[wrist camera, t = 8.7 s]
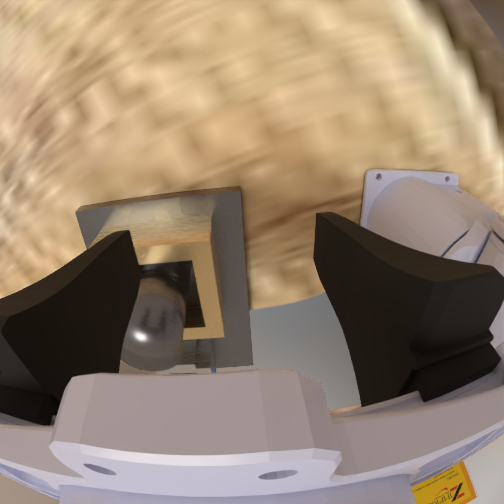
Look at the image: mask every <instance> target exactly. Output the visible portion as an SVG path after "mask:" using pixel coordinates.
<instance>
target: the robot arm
mask: <svg viewBox="0 0 504 504" xmlns="http://www.w3.org/2000/svg"><path fill="white" fill-rule="evenodd" d="M377 174H380V176H379V178H377V179H376V175H377ZM446 177H447V179H446V180H445V178H446ZM458 181H459V176H458V175H457V174H456V173H451V172H438V171H421V170H397V169H369V170H368V171H367V172H366V174H365V182H364V192H363V202H362V211H361V219H360V225H358V224H356V223H354V222H352V221H351V220H349V219H347V218H345V217H342V216H340V215H338V214H336V213H332V212H326V213H316V227H315V243H314V257H313V259H314V262H315V266H316V269H317V272H318V275H319V278H320V281H321V283H322V285H323V287H324V289H325V291H326V293H327V296H328V298H329V300H330V302H331V304H332V306H333V308H334V310H335V313H336V315H337V317H338V319H339V322H340V324H341V327H342V329H343V332H344V335H345V339H346V342H347V345H348V349H349V352H350V356H351V360H352V363H353V367H354V371H355V376H356V380H357V385H358V390H359V394H360V400H361V406H362V407H361V408H357V409H353V410H349V411H344V412H340V413H335V414H330V412H329V408H328V405H327V401H326V397H325V394H324V390H323V387H322V383H321V382H319V381H316V380H314V379H312V378H310V377H307V376H305V375H302V374H300V373H298V372H295V371H292V370H264V369H255V370H245V371H231V372H216V373H196V374H119V366H120V359H121V352H122V346H123V342H124V338H125V334H126V331H127V328H128V325H129V321H130V318H131V315H132V312H133V309H134V305H135V302H136V299H137V296H138V292H139V286H140V280H141V274H142V273H141V269H140V266H139V263H138V259H137V256H136V252H135V249H134V245H133V241H132V237H131V234H130V230H123V231H115V232H113V233H111V234H109V235H108V236H106V237H104V238H103V239H101V240H100V241H98V242H97V243H96V244H94V245H93V246H91V247H90V248H89V249H87V250H86V251H84V252H83V253H82V254H80V255H79V256H77V257H76V258H74V259H73V260H71V261H70V262H69V263H67V264H66V265H64V266H63V267H61V268H60V269H58V270H57V271H55V272H53V273H52V274H50V275H48V276H47V277H45V278H43V279H42V280H40V281H38V282H36V283H34V284H32V285H30V286H28V287H26V288H24V289H22V290H20V291H18V292H16V293H13V294H11V295H9V296H6V297H4V298H1V299H0V473H1V474H3V475H4V476H6V477H8V478H10V479H12V480H15V481H17V482H19V483H21V484H23V485H25V486H27V487H29V488H32V489H34V490H36V491H38V492H41V493H43V494H45V495H48V496H51V497H53V498H56V499H58V500H60V501H59V504H417V503H416V500H415V497H414V493H413V490H412V487H413V486H415V485H417V484H420V483H422V482H424V481H426V480H428V479H430V478H432V477H434V476H436V475H438V474H440V473H442V472H444V471H445V470H447V469H449V468H451V467H453V466H454V465H456V464H458V463H460V462H461V461H463V460H465V459H466V458H468V457H469V456H471V455H473V454H474V453H476V452H477V451H479V450H480V449H482V448H484V447H485V446H487V445H488V444H490V443H491V442H492V441H494V440H495V439H497V438H498V437H500V436H501V435H502V434H504V216H501V215H500V214H499V213H498V212H496V211H495V210H493V209H492V208H490V207H489V206H488V205H486V204H485V203H483V202H482V201H480V200H479V199H477V198H476V197H474V196H473V195H471V194H469V193H468V192H466V191H465V190H463V189H461V188H460V187H458Z"/></svg>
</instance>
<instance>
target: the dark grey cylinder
mask: <svg viewBox="0 0 504 504" xmlns="http://www.w3.org/2000/svg"><path fill="white" fill-rule="evenodd" d="M139 266H140V269H141V273H142V274H141V280H140V286H139V292H138V296H137V299H136V302H135V305H134V309H133V312H132V315H131V318H130V321H129V325H128V328H127V331H126V334H125V338H124V342H123V346H122V352H121V360H122V361H124V362H125V363H127V364H128V365H130V366H133V367H135V368H138V369H141V370H146V371H164V370H168V369H170V368H173V367H174V366H176V365H177V364H178V363H179V361H180V359H181V354H182V343H183V333H184V324H185V315H186V306H187V298H188V289H189V282H190V274H191V262H190V260H189V261H177V262H166V263H154V264H142V265H139Z"/></svg>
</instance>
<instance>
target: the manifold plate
mask: <svg viewBox="0 0 504 504" xmlns="http://www.w3.org/2000/svg"><path fill="white" fill-rule="evenodd" d="M75 213H76V216H77V220H78V223H79V226H80V229H81V233H82V236H83V239H84V242H85V245H86V248H87V249H89V248H90V247H91V246H93V245H94V244H96V243H97V242H98V241H100V240H101V239H103V238H104V237H106V236H108V235H109V234H111V233H113V232H115V231H123V230H130V234H131V237H132V241H133V245H134V249H135V252H136V256H137V259H138V263H139V265H142V264H154V263H166V262H177V261H189V260H190V262H191V274H190V282H189V289H188V298H187V306H186V315H185V324H184V333H183V343H182V354H181V359H180V361H179V363H178V364H177V365H176V366H174V367H173V368H170V369H168V370H164V371H156V373H157V374H196V373H216V368H223V367H237V366H249V365H253V357H252V343H251V331H250V317H249V303H248V290H247V276H246V263H245V249H244V235H243V221H242V206H241V191H240V186H237V187H225V188H214V189H204V190H194V191H185V192H176V193H168V194H160V195H152V196H145V197H137V198H130V199H123V200H117V201H110V202H104V203H98V204H92V205H86V206H81V207H80V208H79V209H78V210H77V211H76V212H75ZM140 370H141V369H140Z"/></svg>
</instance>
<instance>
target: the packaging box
mask: <svg viewBox="0 0 504 504" xmlns="http://www.w3.org/2000/svg"><path fill="white" fill-rule="evenodd" d="M412 490H413V493H414V497H415V500H416V503H417V504H466V503H468V502H470V501H471V500H473V499H475V498H476V497H477V492H476V490H475V487H474V484H473V482H472V479H471V476H470V474H469V471H468V468H467V466H466V463H465V461H464V460H463V461H461V462H460V463H458V464H456V465H454V466H453V467H451V468H449V469H447V470H445V471H444V472H442V473H440V474H438V475H436V476H434V477H432V478H430V479H428V480H426V481H424V482H422V483H420V484H417V485H415V486H413V487H412Z"/></svg>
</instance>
